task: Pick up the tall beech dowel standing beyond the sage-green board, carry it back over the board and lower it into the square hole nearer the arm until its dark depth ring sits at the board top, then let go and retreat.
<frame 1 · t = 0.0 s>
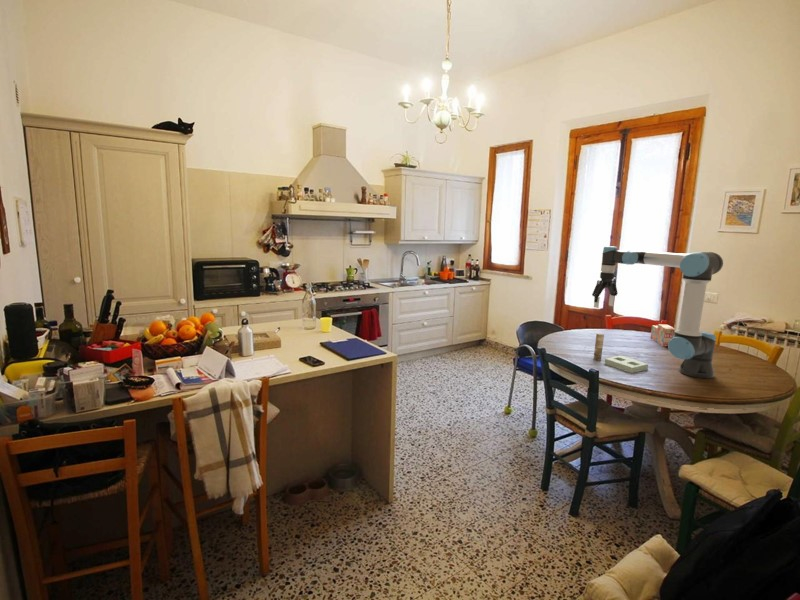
hand: (603, 306, 252), 28 cm above the table, fingers open, 13 cm apart
peg: (597, 359, 240), on the table
board: (625, 366, 229), on the table
stack of blocks: (661, 342, 280), on the table
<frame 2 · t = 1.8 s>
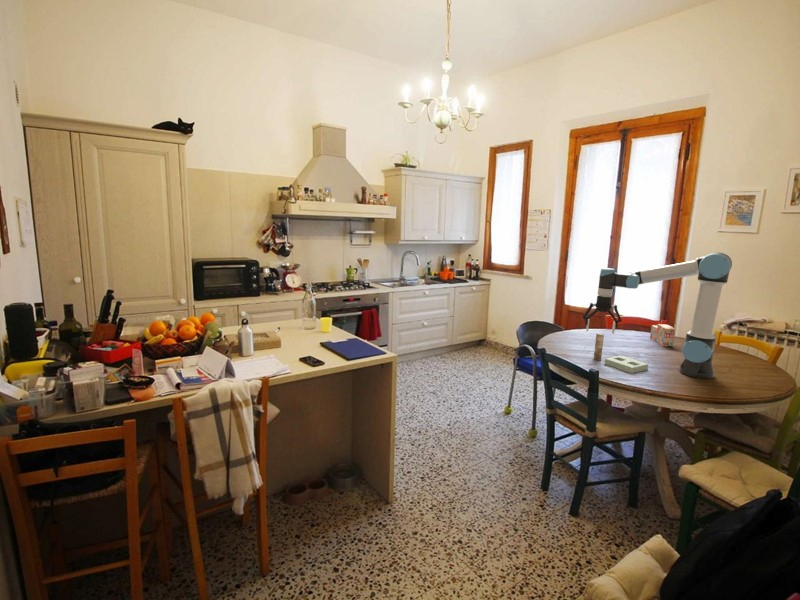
hand: (599, 331, 237), 16 cm above the table, fingers open, 13 cm apart
nothing on the table moved.
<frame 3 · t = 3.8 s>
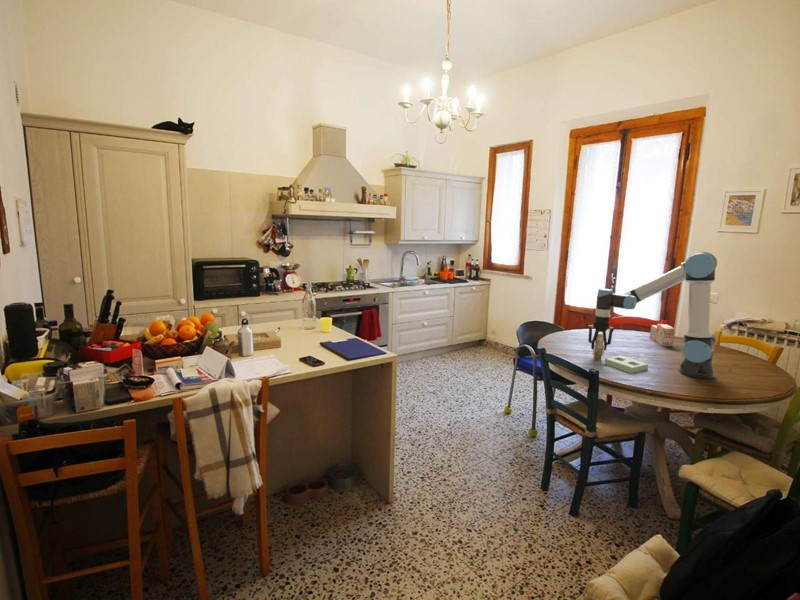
hand: (597, 354, 240), 3 cm above the table, fingers closed on peg, 4 cm apart
peg: (597, 359, 240), on the table, touching gripper
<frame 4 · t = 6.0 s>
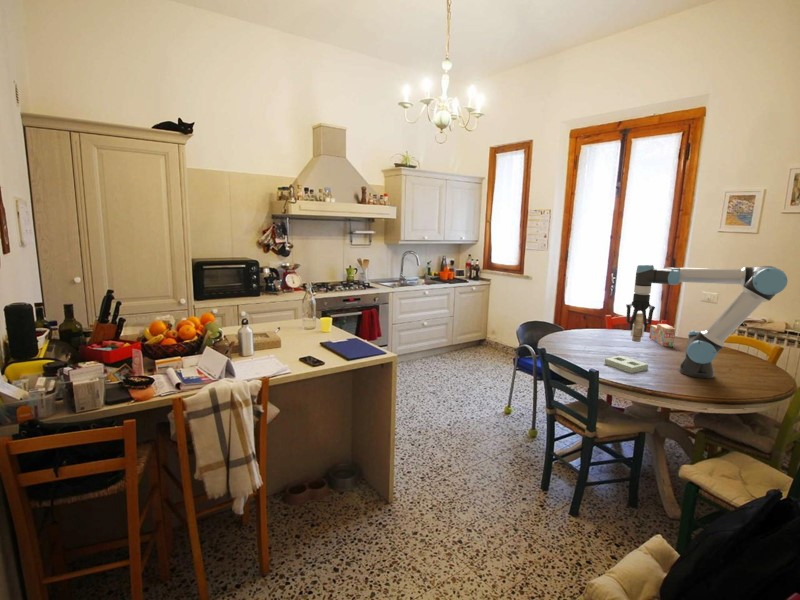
hand: (636, 336, 222), 18 cm above the table, fingers closed on peg, 4 cm apart
peg: (636, 340, 223), point 16 cm above the table, touching gripper
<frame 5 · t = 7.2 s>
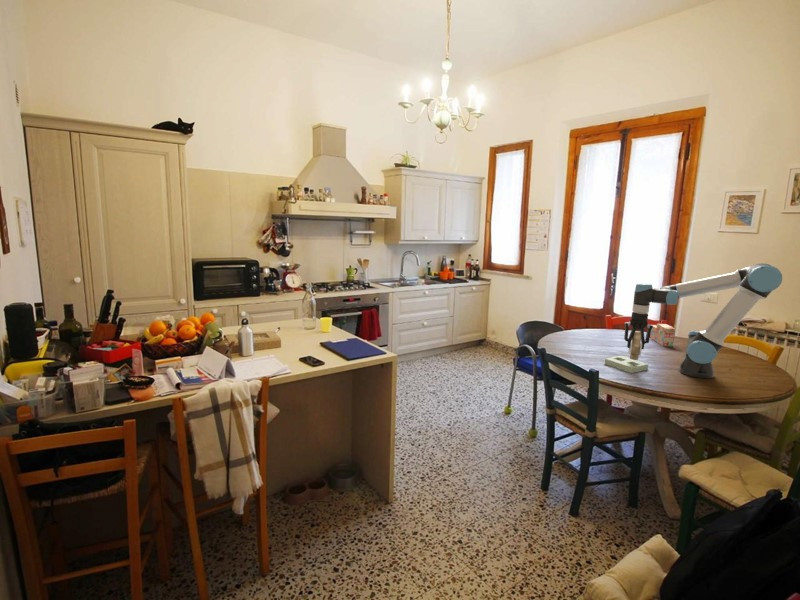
hand: (634, 354, 224), 8 cm above the table, fingers closed on peg, 4 cm apart
peg: (633, 358, 224), point 6 cm above the table, touching gripper
when the fingers open (4 cm above the table, at t = 8.2 s): peg drops 2 cm, resting in board.
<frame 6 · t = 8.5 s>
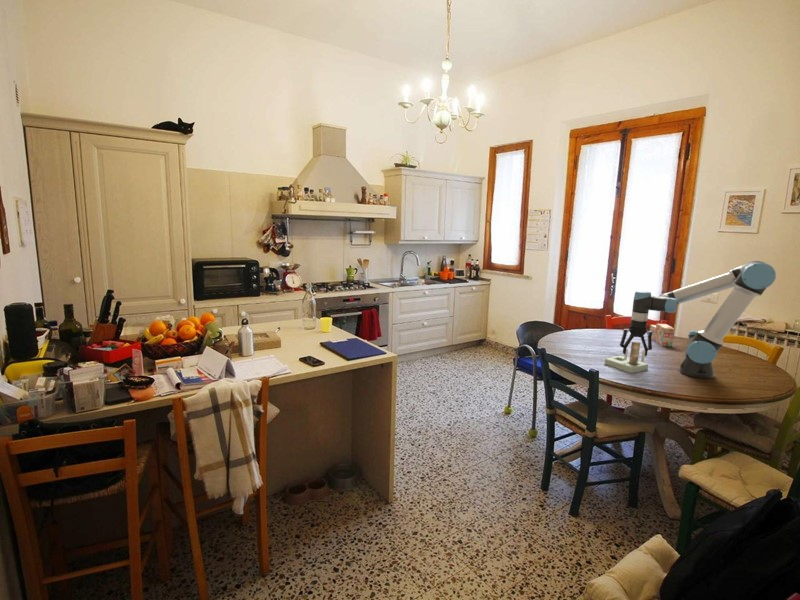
hand: (633, 360, 224), 5 cm above the table, fingers open, 8 cm apart
peg: (632, 368, 225), resting in board
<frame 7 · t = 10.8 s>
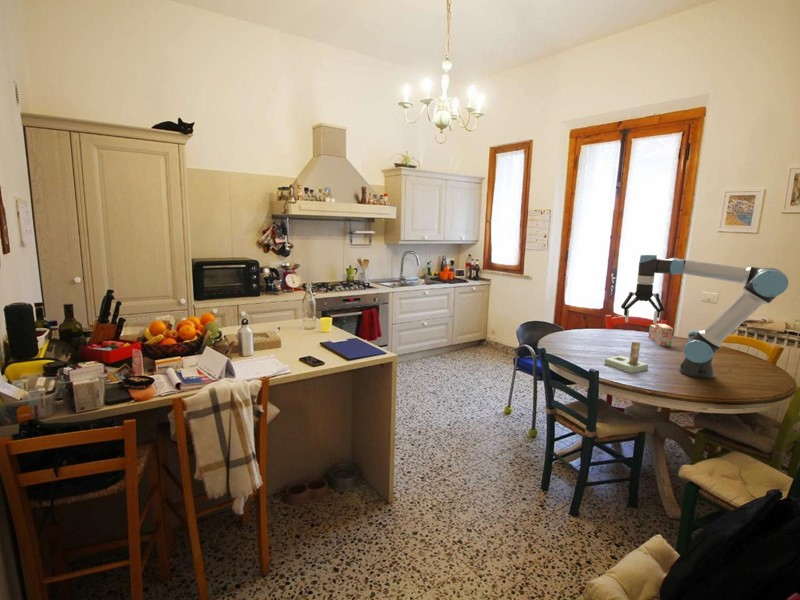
hand: (640, 322, 222), 26 cm above the table, fingers open, 13 cm apart
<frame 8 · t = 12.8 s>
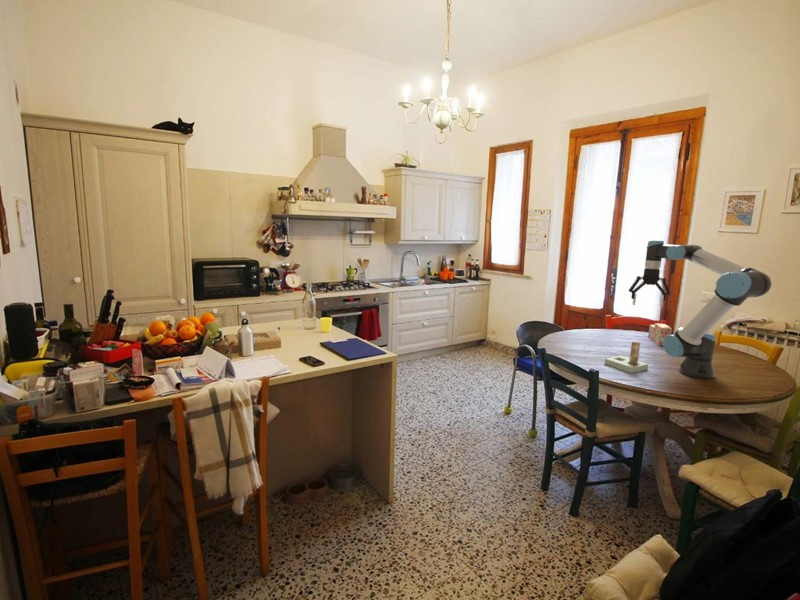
hand: (647, 305, 233), 33 cm above the table, fingers open, 13 cm apart
at the end: peg 0.0 cm from the target spot on the board, point 0.0 cm above the board's base; peg tilted 0°; the gripper is holding nothing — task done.
